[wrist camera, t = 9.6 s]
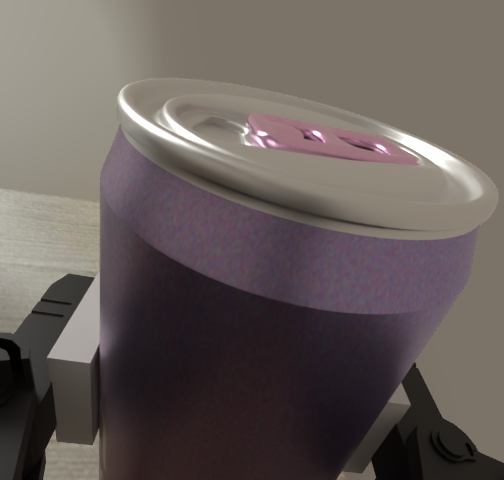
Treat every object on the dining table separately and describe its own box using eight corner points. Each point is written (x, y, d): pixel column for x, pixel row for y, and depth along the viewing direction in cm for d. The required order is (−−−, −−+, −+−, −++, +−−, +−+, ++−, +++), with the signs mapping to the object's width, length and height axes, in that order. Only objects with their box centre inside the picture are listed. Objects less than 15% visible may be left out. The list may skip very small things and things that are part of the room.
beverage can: (283, 637, 11) (645, 246, 4) (80, 678, 10) (23, 164, 2) (252, 446, 16) (383, 113, 9) (113, 454, 15) (129, 58, 7)
